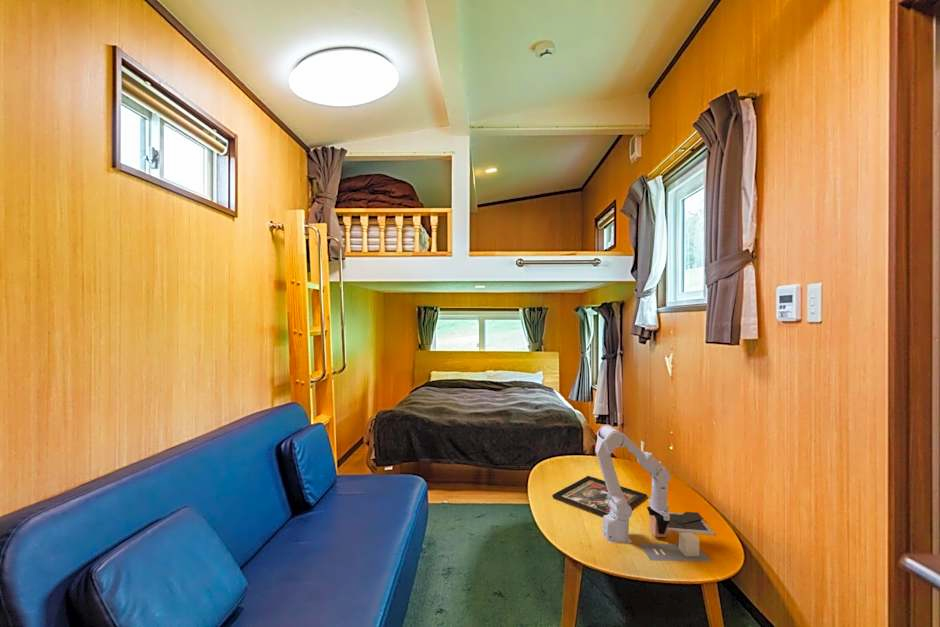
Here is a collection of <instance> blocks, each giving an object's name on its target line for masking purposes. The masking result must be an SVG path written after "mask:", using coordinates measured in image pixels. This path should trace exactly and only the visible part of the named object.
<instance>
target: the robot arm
mask: <svg viewBox="0 0 940 627" xmlns="http://www.w3.org/2000/svg"><path fill="white" fill-rule="evenodd" d="M596 435H597V437H596V438H597V439H596V445H595V449H594V451H595V455H596V457H597V461H598V464H599V468H600V470H601V474H602V477H603V481H605V484H606V487H607V490H608V493H607V496H608V506H609V507H610V514H608V515H604V516H603V518H602V530H601V533H602V535H603V537H604V538H605V539H606V541H607V543H626V544H627V543H629V544H632V543H633V541H632V540H631V538H630V537H629V536H630V535H629V529H630V528H629V526H630V518H631V517H632V515H633V509H632V508H631V507H630V506H629V505H628V503H627V501H626V499H625V497H624V495H623V493H622V491H621V487H620V486H621V485H620V482H619V479H618V475H617V472H616V469H615V465H614V463H613V460H612V456H611V455H612V453H613V452H614V451H615V450H616V449H618V448H620V447H621V448H626V449H627V450H628V451H629V452H631V453H632V454H633V455H634V456H635V457H636V461H637V463H638V464H639V465H640V466H641V467H642V468H643V469H644V470H645V471H646V472H647V473H649V475H650V476H651V490H650V491H651V495H650V496H651V498H648V505H649V506H647V507H646V510H647V511H648V515H649V514H650V515H655V518H656V521H657V526H658V533H659V534H665V531H666V528H667V525H668V523H669V522H670V521H671V518H670V515H669V513H668V512H669V510H671V509H670V507H669V506H668V486H669V482H670V481H671V478H672V475H671V473H670V470H669V469H667V468H666V467H664V466H663V464H662V462H661V461H660V460H659V461H658V460H657V459H656V458H655V457H654V456H655V455H654V454H653V453H652V452H648V451H643V450H642V449H640V447H639V446H637V444H636V443H635V442H634V441H632V440H631V438H630V437H628V436H627V435H626V434H624V433H622V432H621V431H619V430H618V429H616V428H614V426H612V425H611V424H603V425H601V427H600V428H599V429H598V431H597V432H596ZM650 515H649V516H650Z"/></svg>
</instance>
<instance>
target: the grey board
mask: <svg viewBox="0 0 940 627" xmlns="http://www.w3.org/2000/svg"><path fill="white" fill-rule="evenodd" d="M638 545H639V547H641V549H642V550H643V552H644V553H645V555H646V556H647V557H648V558H649V561H660V562H663V561H664V562H666V561H667V562H711V563H712V560H711V559H710V558H709V557H708V555H707V554H706V553H705V552H704V551H703V550H702V549H701V547H699V556H685V555H684V554H683V553H682V552H681V550H680V549H679V543H642V542H641V543H640V542H639V543H638Z"/></svg>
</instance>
